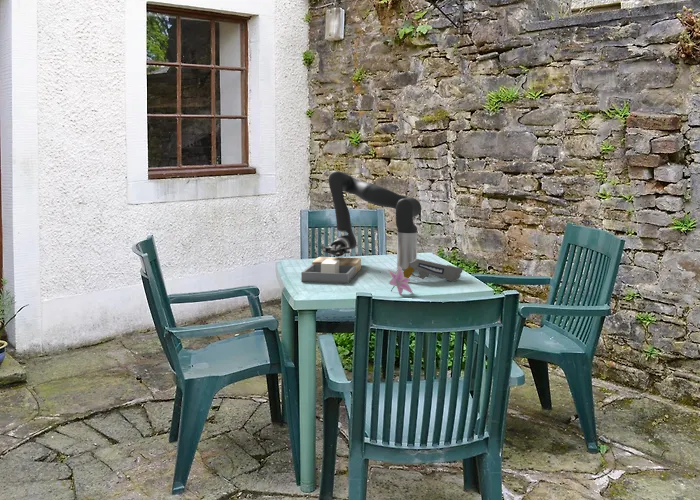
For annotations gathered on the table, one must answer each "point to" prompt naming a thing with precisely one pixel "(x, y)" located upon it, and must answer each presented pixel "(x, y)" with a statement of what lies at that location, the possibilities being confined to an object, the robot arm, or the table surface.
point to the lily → (400, 281)
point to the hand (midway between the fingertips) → (332, 252)
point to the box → (328, 274)
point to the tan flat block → (341, 261)
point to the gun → (432, 270)
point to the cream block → (330, 266)
